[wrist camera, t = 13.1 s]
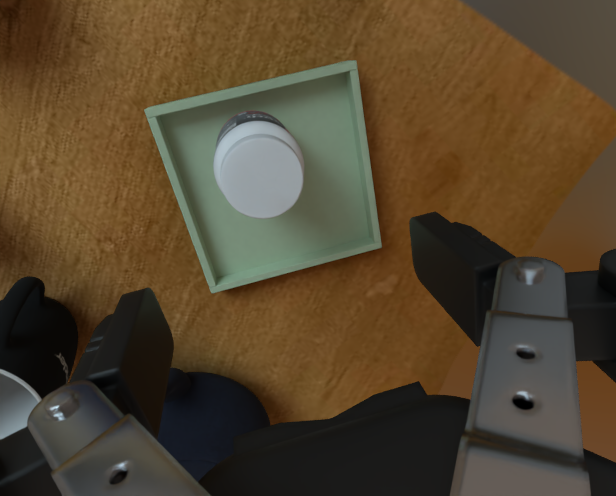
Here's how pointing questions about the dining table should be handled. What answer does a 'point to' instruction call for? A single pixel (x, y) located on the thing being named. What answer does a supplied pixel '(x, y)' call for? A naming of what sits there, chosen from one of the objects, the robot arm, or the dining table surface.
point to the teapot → (206, 418)
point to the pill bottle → (258, 165)
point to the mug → (32, 351)
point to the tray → (316, 188)
